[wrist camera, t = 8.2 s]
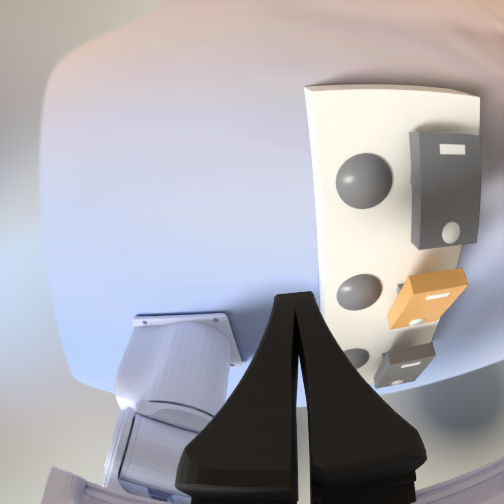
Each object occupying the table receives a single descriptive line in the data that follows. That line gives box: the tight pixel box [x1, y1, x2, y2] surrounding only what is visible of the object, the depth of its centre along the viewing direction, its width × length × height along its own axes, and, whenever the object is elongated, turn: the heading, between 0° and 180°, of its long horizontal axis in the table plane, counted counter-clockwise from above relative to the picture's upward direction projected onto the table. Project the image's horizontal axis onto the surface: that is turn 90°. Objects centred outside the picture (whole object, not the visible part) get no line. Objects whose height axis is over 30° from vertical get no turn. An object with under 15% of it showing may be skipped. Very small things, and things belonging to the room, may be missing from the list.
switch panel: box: [304, 84, 480, 384], centre depth 22 cm, size 31×10×4 cm, turn 9°
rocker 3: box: [374, 342, 436, 389], centre depth 22 cm, size 6×4×1 cm, turn 9°
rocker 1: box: [409, 132, 481, 250], centre depth 13 cm, size 6×4×1 cm, turn 9°
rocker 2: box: [387, 268, 468, 330], centre depth 18 cm, size 6×4×1 cm, turn 9°
